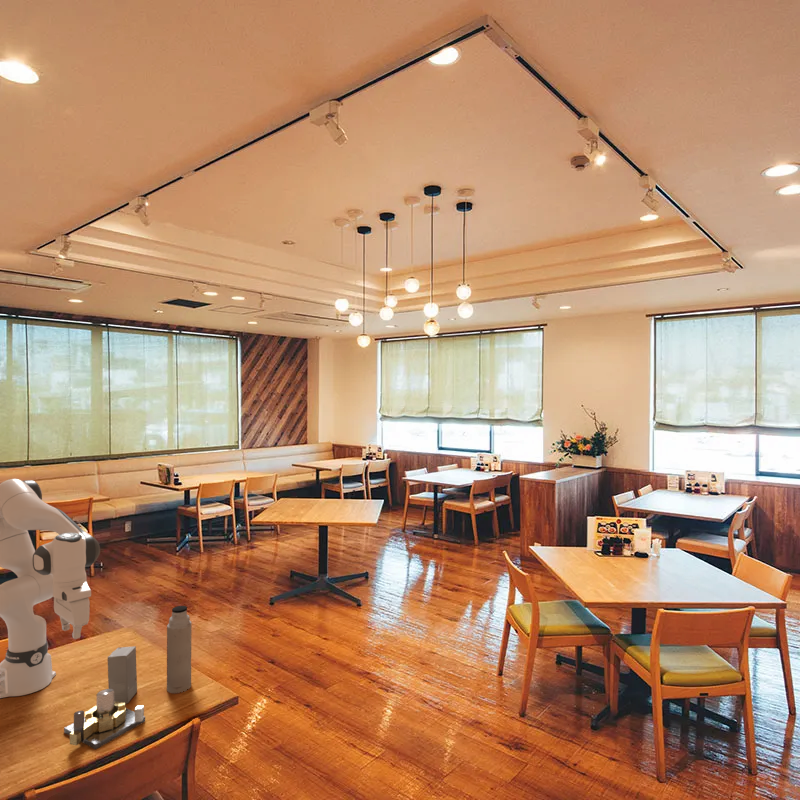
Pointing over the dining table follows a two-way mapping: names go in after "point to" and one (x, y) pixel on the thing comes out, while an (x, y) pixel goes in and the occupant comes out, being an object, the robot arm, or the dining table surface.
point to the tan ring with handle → (95, 722)
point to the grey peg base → (107, 706)
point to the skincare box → (123, 673)
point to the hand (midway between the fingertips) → (71, 633)
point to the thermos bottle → (179, 651)
